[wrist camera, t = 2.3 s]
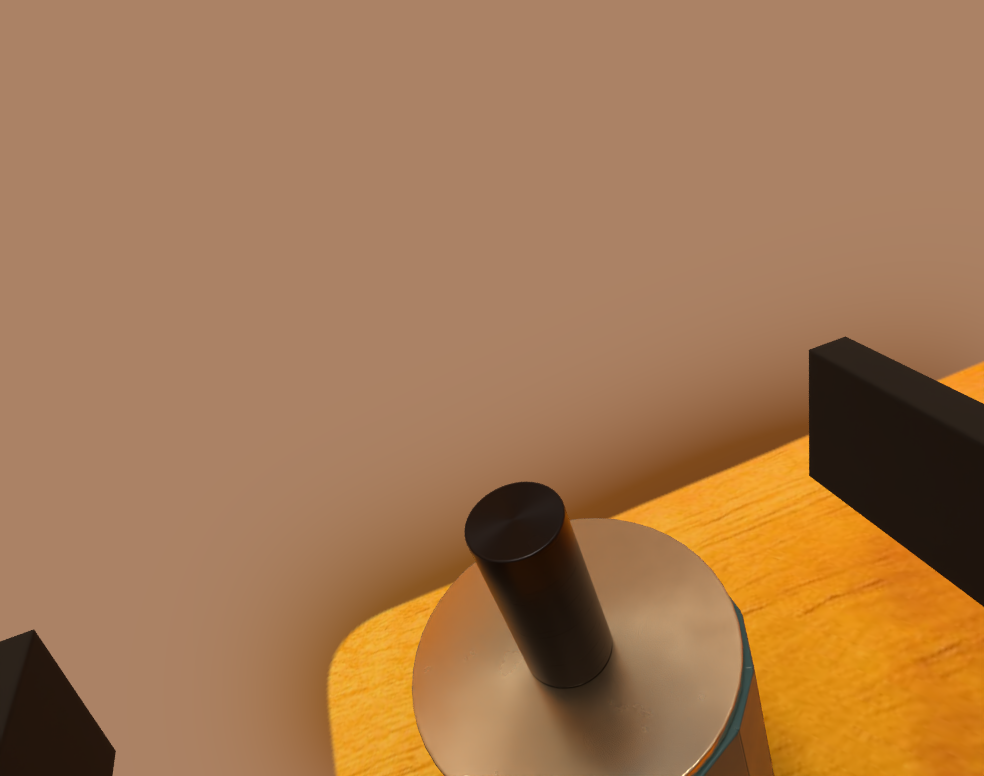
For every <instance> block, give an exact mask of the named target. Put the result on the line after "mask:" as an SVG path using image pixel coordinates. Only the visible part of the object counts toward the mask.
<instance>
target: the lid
mask: <svg viewBox="0 0 984 776" xmlns="http://www.w3.org/2000/svg"><path fill="white" fill-rule="evenodd" d="M465 540H466V543H467V546H468V547H469V550H470V551H471V553H472V555H473V558H474V560H475V562H474V563H473V564H472V565H471V566H470V567H469V568H468V569H466V570H465V571H464V572H463V573H462V574H461V575H460V577H459V578H458V579H457V580H456V581H455V582H454V583H453V584H452V585H451V586H450V588H449V589H448V590H447V592H446V593H445V594H444V596H443V597H442V598H441V599H440V601H439V603H438V604H437V606H436V608H435V609H434V611H433V613H432V614H431V616H430V618H429V620H428V622H427V625H426V627H425V629H424V631H423V633H422V636H421V640H420V643H419V646H418V649H417V652H416V658H415V663H414V669H413V683H412V695H413V707H414V713H415V717H416V722H417V726H418V730H419V732H420V735H421V737H422V740H423V742H424V745H425V747H426V749H427V751H428V752H429V754H430V756H431V758H432V759H433V761H434V763H435V764H436V766H437V767H438V769H439V770H440V771H441V772H442V774H443V775H444V776H696V775H697V774H698V773H699V772H700V770H701V769H702V768H703V767H704V766H705V765H706V763H707V762H708V761H709V760H710V759H711V758H712V756H713V755H714V753H715V752H716V750H717V748H718V747H719V745H720V744H721V742H722V741H723V739H724V737H725V736H726V734H727V731H728V729H729V727H730V725H731V723H732V720H733V718H734V716H735V713H736V710H737V706H738V703H739V699H740V695H741V692H742V684H743V676H744V648H743V642H742V636H741V631H740V625H739V621H738V618H737V615H736V612H735V609H734V606H733V603H732V601H731V599H730V597H729V596H728V594H727V592H726V590H725V588H724V586H723V584H722V583H721V582H720V580H719V579H718V578H717V576H716V575H715V573H714V572H713V571H712V569H711V568H710V567H709V566H708V565H707V564H706V563H705V562H704V561H703V560H702V559H701V558H700V557H699V556H698V555H696V554H695V553H694V552H693V551H691V550H690V549H689V548H688V547H686V546H685V545H684V544H682V543H680V542H679V541H677V540H675V539H674V538H672V537H670V536H668V535H666V534H664V533H662V532H659V531H657V530H655V529H653V528H650V527H646V526H643V525H640V524H636V523H632V522H627V521H621V520H616V519H602V518H590V519H575V520H569V518H568V515H567V512H566V509H565V506H564V504H563V501H562V499H561V498H560V496H559V495H558V494H557V493H556V492H555V491H554V490H553V489H551V488H549V487H548V486H545V485H543V484H540V483H535V482H518V483H512V484H508V485H505V486H502V487H500V488H498V489H496V490H494V491H492V492H490V493H489V494H487V495H486V496H485V497H483V498H482V499H481V500H480V501H479V502H478V503H477V504H476V505H475V507H474V508H473V509H472V511H471V512H470V514H469V516H468V518H467V521H466V524H465Z"/></svg>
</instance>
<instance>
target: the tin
mask: <svg viewBox="0 0 984 776" xmlns="http://www.w3.org/2000/svg"><path fill="white" fill-rule="evenodd" d="M728 596H729V595H728ZM729 597H730V596H729ZM730 599H731V598H730ZM731 601H732V603H733V606H734V609H735V612H736V615H737V618H738V621H739V625H740V631H741V636H742V642H743V648H744V676H743V684H742V692H741V695H740V699H739V703H738V706H737V710H736V713H735V716H734V718H733V720H732V723H731V725H730V727H729V729H728V731H727V734H726V736H725V737H724V739H723V741H722V742H721V744H720V745H719V747H718V748H717V750H716V752H715V753H714V755H713V756H712V758H711V759H710V760H709V761H708V762H707V763H706V765H705V766H704V767H703V768H702V769H701V770H700V772H699V773H698V774H697V775H696V776H774V773H773V768H772V762H771V757H770V752H769V746H768V741H767V735H766V730H765V724H764V719H763V714H762V708H761V703H760V697H759V692H758V686H757V681H756V675H755V670H754V665H753V661H752V656H751V651H750V647H749V642H748V638H747V633H746V629H745V624H744V619H743V615H742V614H741V611H740V609H739V608H738V607H737V606H736V604H735V603H734V602H733V600H732V599H731Z"/></svg>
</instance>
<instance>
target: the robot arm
mask: <svg viewBox="0 0 984 776" xmlns="http://www.w3.org/2000/svg"><path fill="white" fill-rule="evenodd" d="M809 476H810V477H812V478H813V479H814V480H816V481H817V482H818V483H820V484H821V485H822V486H824V487H825V488H826V489H828V490H829V491H830V492H832V493H833V494H834V495H836V496H837V497H838V498H840V499H841V500H842V501H844V502H845V503H846V504H848V505H849V506H850V507H852V508H853V509H854V510H856V511H857V512H858V513H860V514H861V515H862V516H864V517H865V518H866V519H868V520H869V521H870V522H872V523H873V524H874V525H876V526H877V527H878V528H880V529H881V530H882V531H884V532H885V533H886V534H888V535H889V536H890V537H892V538H893V539H894V540H896V541H897V542H898V543H900V544H901V545H902V546H904V547H905V548H906V549H908V550H909V551H910V552H912V553H913V554H914V555H916V556H917V557H918V558H920V559H921V560H922V561H924V562H925V563H926V564H928V565H929V566H930V567H932V568H933V569H934V570H936V571H937V572H938V573H940V574H941V575H942V576H944V577H945V578H946V579H948V580H949V581H950V582H952V583H953V584H954V585H956V586H957V587H958V588H960V589H961V590H962V591H964V592H965V593H966V594H968V595H969V596H970V597H972V598H973V599H974V600H976V601H977V602H978V603H980V604H981V605H982V606H984V404H983V403H981V402H979V401H977V400H974V399H972V398H970V397H968V396H966V395H964V394H962V393H960V392H958V391H956V390H954V389H952V388H950V387H948V386H946V385H944V384H942V383H940V382H938V381H936V380H933V379H931V378H929V377H927V376H925V375H923V374H921V373H919V372H917V371H915V370H913V369H911V368H909V367H907V366H905V365H902V364H901V363H899V362H896V361H894V360H892V359H890V358H888V357H886V356H884V355H882V354H880V353H878V352H876V351H874V350H872V349H870V348H868V347H866V346H864V345H861V344H860V343H857V342H856V341H854V340H851V339H849V338H847V337H843V338H840V339H838V340H835V341H832V342H829V343H827V344H824V345H821V346H818V347H816V348H813V349H810V350H809ZM115 752H116V751H115V749H114V748H113V746H112V745H111V743H110V742H109V740H108V739H107V737H106V736H105V734H104V733H103V731H102V730H101V728H100V727H99V726H98V724H97V723H96V721H95V720H94V718H93V717H92V715H91V714H90V712H89V711H88V709H87V708H86V706H85V705H84V703H83V702H82V700H81V699H80V697H79V696H78V694H77V693H76V691H75V690H74V688H73V687H72V685H71V684H70V682H69V681H68V679H67V678H66V676H65V675H64V673H63V672H62V670H61V669H60V668H59V666H58V665H57V663H56V662H55V660H54V659H53V657H52V656H51V654H50V653H49V651H48V650H47V648H46V647H45V645H44V644H43V642H42V641H41V639H40V638H39V636H38V635H37V633H36V632H35V630H31V631H28V632H26V633H23V634H20V635H17V636H14V637H12V638H9V639H6V640H3V641H1V642H0V776H112V774H113V767H114V760H115Z"/></svg>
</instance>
